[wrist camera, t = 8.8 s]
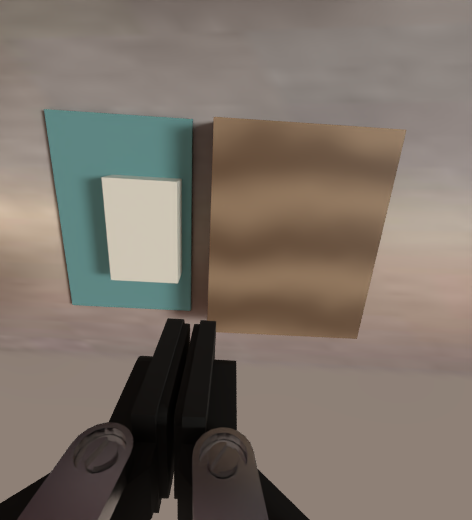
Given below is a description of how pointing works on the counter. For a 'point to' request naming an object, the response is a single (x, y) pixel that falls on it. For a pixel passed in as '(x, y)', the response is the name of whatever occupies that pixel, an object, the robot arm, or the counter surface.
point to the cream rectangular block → (143, 227)
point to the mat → (92, 203)
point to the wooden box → (296, 224)
